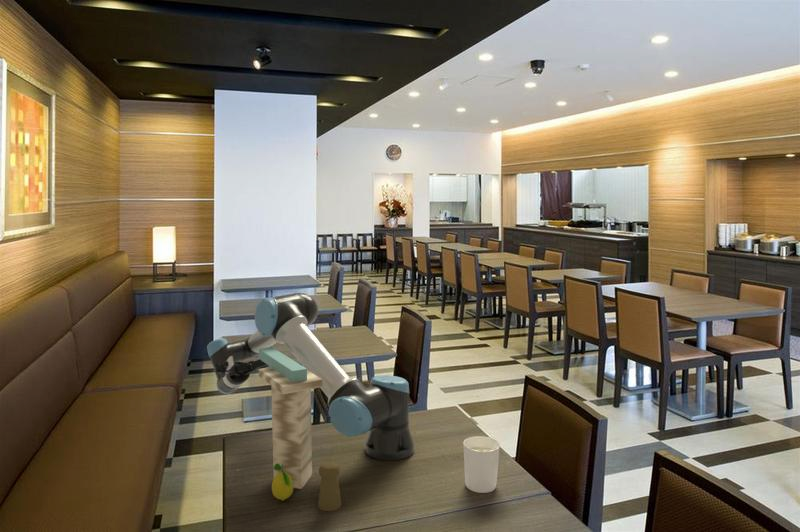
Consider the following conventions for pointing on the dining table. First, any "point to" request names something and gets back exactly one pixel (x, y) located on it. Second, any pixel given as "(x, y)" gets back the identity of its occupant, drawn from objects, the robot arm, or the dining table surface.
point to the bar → (283, 364)
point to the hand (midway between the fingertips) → (253, 357)
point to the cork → (329, 487)
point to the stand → (292, 424)
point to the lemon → (282, 484)
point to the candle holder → (481, 463)
